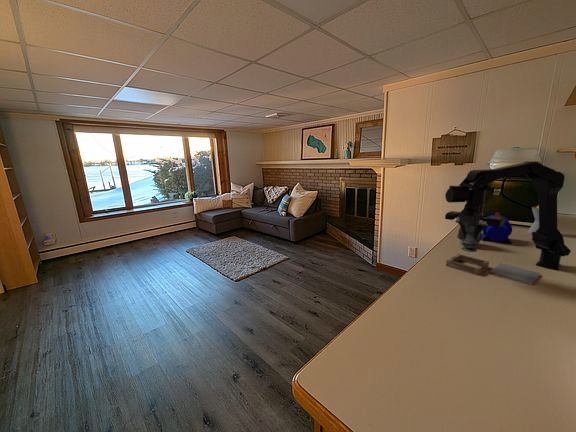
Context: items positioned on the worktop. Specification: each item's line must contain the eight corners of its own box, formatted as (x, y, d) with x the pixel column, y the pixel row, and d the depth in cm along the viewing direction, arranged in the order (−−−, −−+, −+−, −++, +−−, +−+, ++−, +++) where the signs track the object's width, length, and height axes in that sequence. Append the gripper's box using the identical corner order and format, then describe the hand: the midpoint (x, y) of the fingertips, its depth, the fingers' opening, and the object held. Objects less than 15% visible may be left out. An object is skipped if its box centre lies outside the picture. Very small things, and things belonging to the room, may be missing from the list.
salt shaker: (481, 252, 97) (485, 224, 94) (464, 252, 98) (468, 224, 96) (473, 247, 103) (476, 220, 100) (457, 247, 104) (461, 220, 101)
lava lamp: (523, 230, 143) (533, 171, 135) (541, 231, 141) (552, 171, 133) (534, 235, 134) (547, 172, 126) (554, 235, 132) (567, 172, 124)
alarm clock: (507, 238, 132) (511, 212, 129) (512, 245, 122) (517, 217, 119) (479, 235, 139) (483, 210, 135) (482, 242, 129) (486, 215, 125)
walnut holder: (457, 258, 110) (458, 253, 109) (488, 267, 101) (489, 261, 100) (446, 265, 104) (446, 260, 103) (477, 275, 95) (478, 269, 94)
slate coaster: (500, 264, 102) (500, 263, 102) (540, 275, 92) (540, 273, 92) (490, 273, 96) (490, 271, 96) (531, 284, 86) (531, 282, 86)
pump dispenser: (474, 249, 119) (478, 220, 116) (452, 244, 128) (455, 216, 125) (484, 245, 124) (489, 217, 120) (462, 240, 133) (466, 213, 129)
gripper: (440, 201, 99) (437, 237, 103) (497, 207, 84) (491, 249, 88) (452, 198, 105) (449, 232, 109) (508, 203, 90) (501, 242, 93)
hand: (470, 238), depth 99 cm, fingers closed on salt shaker, 3 cm apart
